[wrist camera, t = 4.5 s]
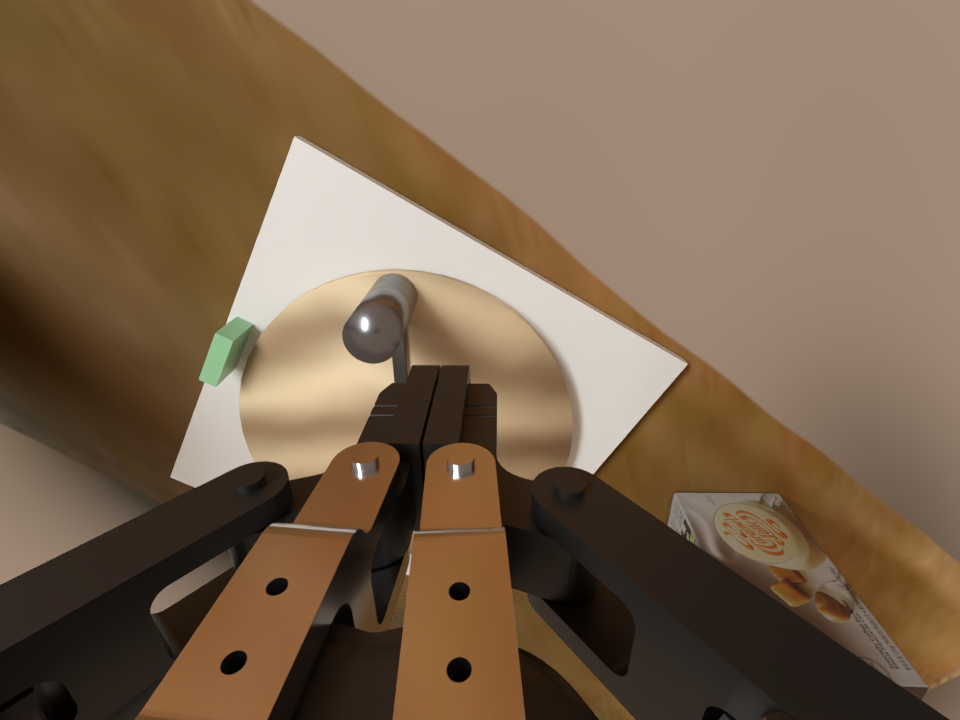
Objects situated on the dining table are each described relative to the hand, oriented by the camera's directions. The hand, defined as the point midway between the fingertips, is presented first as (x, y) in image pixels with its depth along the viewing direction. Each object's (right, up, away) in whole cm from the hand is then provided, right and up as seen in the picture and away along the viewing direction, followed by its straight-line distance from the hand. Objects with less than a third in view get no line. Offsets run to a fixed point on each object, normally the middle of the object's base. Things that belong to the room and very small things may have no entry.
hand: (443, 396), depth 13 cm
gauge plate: (-5, -4, +26) cm, 27 cm away
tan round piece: (-5, -4, +25) cm, 26 cm away
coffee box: (+22, -13, +30) cm, 40 cm away
